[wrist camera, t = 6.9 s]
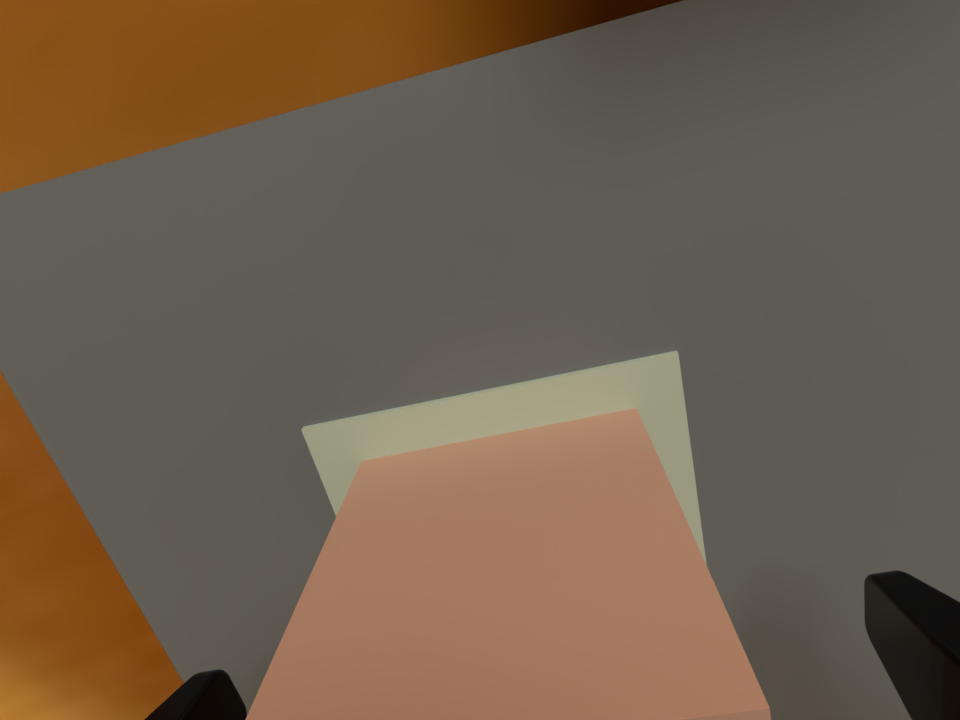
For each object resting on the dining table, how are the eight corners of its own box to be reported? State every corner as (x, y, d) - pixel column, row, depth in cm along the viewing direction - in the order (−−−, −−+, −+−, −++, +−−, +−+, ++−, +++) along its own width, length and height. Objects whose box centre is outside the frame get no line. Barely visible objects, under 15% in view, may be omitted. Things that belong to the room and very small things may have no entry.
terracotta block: (636, 408, 9) (770, 709, 4) (673, 626, 11) (799, 1016, 6) (361, 461, 10) (220, 774, 5) (434, 660, 11) (379, 1037, 7)
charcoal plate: (944, -61, 8) (1044, -104, 6) (918, 709, 13) (970, 783, 12) (-5, 205, 10) (-96, 219, 8) (301, 780, 15) (278, 851, 14)
